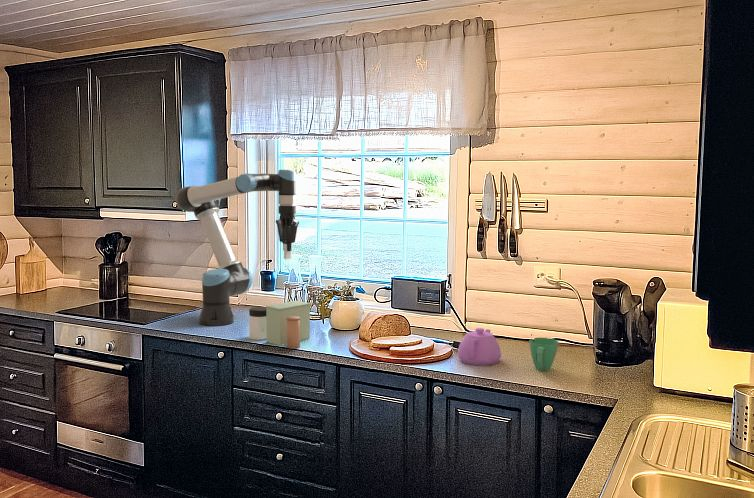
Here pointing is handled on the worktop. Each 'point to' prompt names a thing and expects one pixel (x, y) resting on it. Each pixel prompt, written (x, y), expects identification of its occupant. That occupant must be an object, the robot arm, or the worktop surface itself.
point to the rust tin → (293, 332)
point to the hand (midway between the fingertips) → (287, 258)
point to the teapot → (479, 348)
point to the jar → (257, 323)
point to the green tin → (278, 320)
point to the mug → (543, 352)
